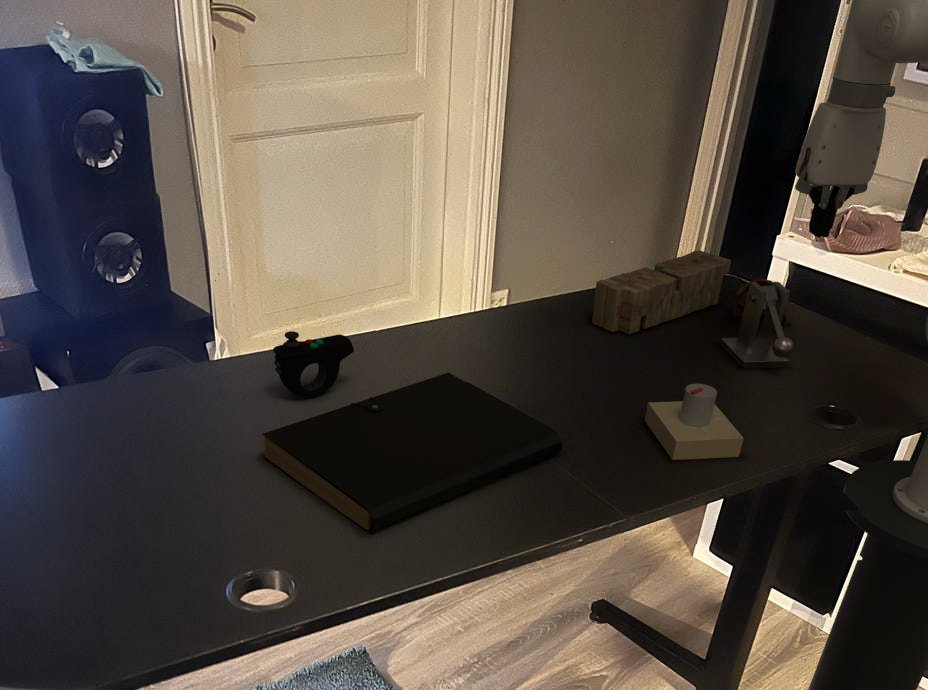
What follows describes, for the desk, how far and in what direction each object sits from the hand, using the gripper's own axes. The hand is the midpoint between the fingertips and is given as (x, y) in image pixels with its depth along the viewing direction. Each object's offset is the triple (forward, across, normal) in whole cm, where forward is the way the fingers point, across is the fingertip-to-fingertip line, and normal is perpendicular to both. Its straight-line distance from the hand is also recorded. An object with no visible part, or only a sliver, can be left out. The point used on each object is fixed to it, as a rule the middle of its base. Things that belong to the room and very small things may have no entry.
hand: (818, 234), depth 144 cm
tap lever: (+17, 0, -6) cm, 18 cm away
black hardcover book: (+23, +63, +20) cm, 70 cm away
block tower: (+23, +10, -30) cm, 39 cm away
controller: (+23, +75, -1) cm, 79 cm away
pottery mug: (+23, -8, -26) cm, 36 cm away
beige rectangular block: (+23, +22, +18) cm, 37 cm away
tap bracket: (+23, 0, -10) cm, 25 cm away
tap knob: (+20, +22, +18) cm, 35 cm away
